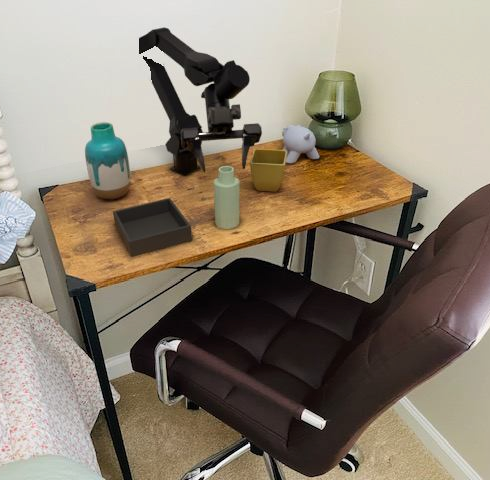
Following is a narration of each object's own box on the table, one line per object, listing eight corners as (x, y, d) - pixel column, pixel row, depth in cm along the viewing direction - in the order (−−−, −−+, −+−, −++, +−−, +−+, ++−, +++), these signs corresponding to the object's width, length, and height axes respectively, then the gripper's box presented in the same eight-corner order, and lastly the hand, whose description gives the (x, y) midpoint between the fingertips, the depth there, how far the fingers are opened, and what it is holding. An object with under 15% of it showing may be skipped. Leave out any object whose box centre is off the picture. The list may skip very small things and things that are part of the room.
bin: (115, 225, 117) (112, 211, 115) (171, 211, 121) (169, 197, 119) (131, 257, 106) (128, 241, 104) (192, 240, 110) (191, 225, 108)
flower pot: (283, 196, 125) (284, 164, 120) (249, 194, 127) (249, 162, 122) (285, 180, 132) (287, 149, 127) (253, 179, 134) (253, 148, 129)
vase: (141, 193, 129) (132, 124, 119) (109, 209, 123) (96, 138, 112) (116, 182, 136) (105, 115, 125) (84, 196, 129) (70, 127, 118)
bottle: (210, 223, 116) (208, 170, 108) (226, 213, 119) (225, 161, 111) (228, 232, 113) (227, 177, 105) (244, 221, 116) (244, 168, 108)
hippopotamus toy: (302, 142, 153) (304, 112, 148) (324, 161, 141) (328, 130, 136) (270, 147, 151) (271, 117, 146) (290, 167, 139) (292, 135, 134)
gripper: (178, 94, 108) (183, 161, 105) (261, 88, 109) (269, 154, 106) (179, 116, 119) (184, 177, 116) (254, 111, 120) (262, 171, 117)
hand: (224, 170), depth 114 cm, fingers open, 9 cm apart
